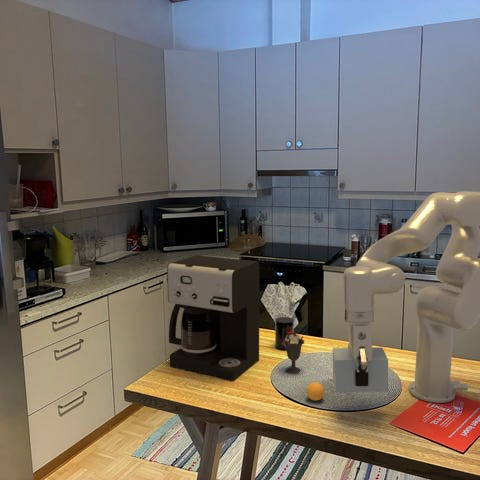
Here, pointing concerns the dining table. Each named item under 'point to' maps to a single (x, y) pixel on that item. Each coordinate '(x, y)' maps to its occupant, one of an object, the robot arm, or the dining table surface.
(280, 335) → the supplement container
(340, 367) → the grey rectangular block
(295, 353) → the sundae
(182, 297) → the coffee maker
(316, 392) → the ball
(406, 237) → the robot arm
